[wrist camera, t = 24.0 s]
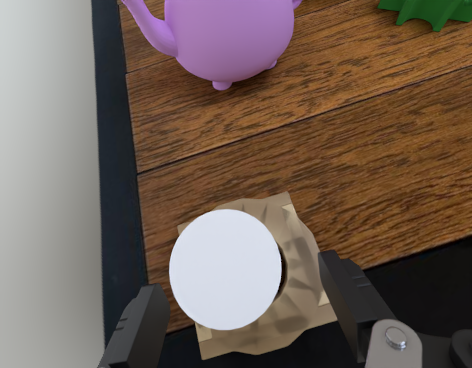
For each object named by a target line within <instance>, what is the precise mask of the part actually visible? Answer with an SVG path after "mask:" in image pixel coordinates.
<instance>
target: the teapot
mask: <svg viewBox="0 0 472 368" xmlns="http://www.w3.org/2000/svg"><path fill="white" fill-rule="evenodd" d="M121 1H122V2H123V3H124V4H125V5H126V6H127V8H128V9H129V11H130V12H131V14H132V15H133V17H134V19H135V20H136V22H137V24H138V26H139V27H140V29H141V31H142V32H143V34H144V35H145V37H146V38H147V40H148V41H149V42H150V43H151V45H152V46H154V47H155V48H156V49H157V50H158V51H160V52H162V53H164V54H166V55H170V56H174V57H176V59H177V61H178V62H179V63H180V64H181V65H182V66H183V67H184V68H185V69H186V70H188V71H189V72H190V73H192V74H194V75H196V76H198V77H201V78H203V79H206V80H210V81H213V87H214V88H215V89H217V90H225V89H227V88H229V87H230V86H231V84H232V82H236V81H241V80H245V79H248V78H250V77H253V76H255V75H257V74H258V73H260V72H262V71H263V70H265V69H270V68H272V67H274V66H275V65H276V63H277V59H278V58H279V57H280V56H281V54H282V53H283V52H284V51H285V49H286V48H287V46H288V44H289V42H290V40H291V37H292V34H293V27H294V12H293V10H294V9H295V8H297V7H298V6H299V5H300V3H301V2H302V0H165V21H163V20H159V19H156V18H155V17H153V16H152V15H151V13H150V12H149V10H148V9H147V7H146V5H145V3H144V2H143V0H121Z"/></svg>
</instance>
